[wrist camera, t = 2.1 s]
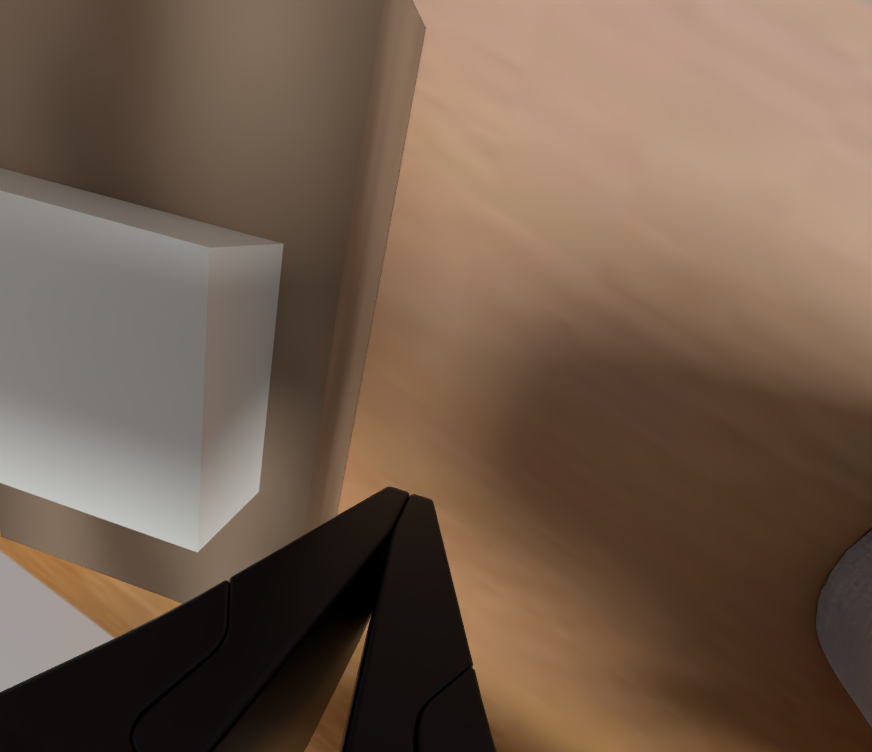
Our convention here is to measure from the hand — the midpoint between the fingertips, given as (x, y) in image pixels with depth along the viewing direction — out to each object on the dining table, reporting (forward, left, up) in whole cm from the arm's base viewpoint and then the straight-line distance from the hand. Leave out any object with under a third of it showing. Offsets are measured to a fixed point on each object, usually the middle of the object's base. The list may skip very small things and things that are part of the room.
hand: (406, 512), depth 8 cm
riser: (+9, 0, -6) cm, 11 cm away
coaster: (+9, 0, -3) cm, 9 cm away
